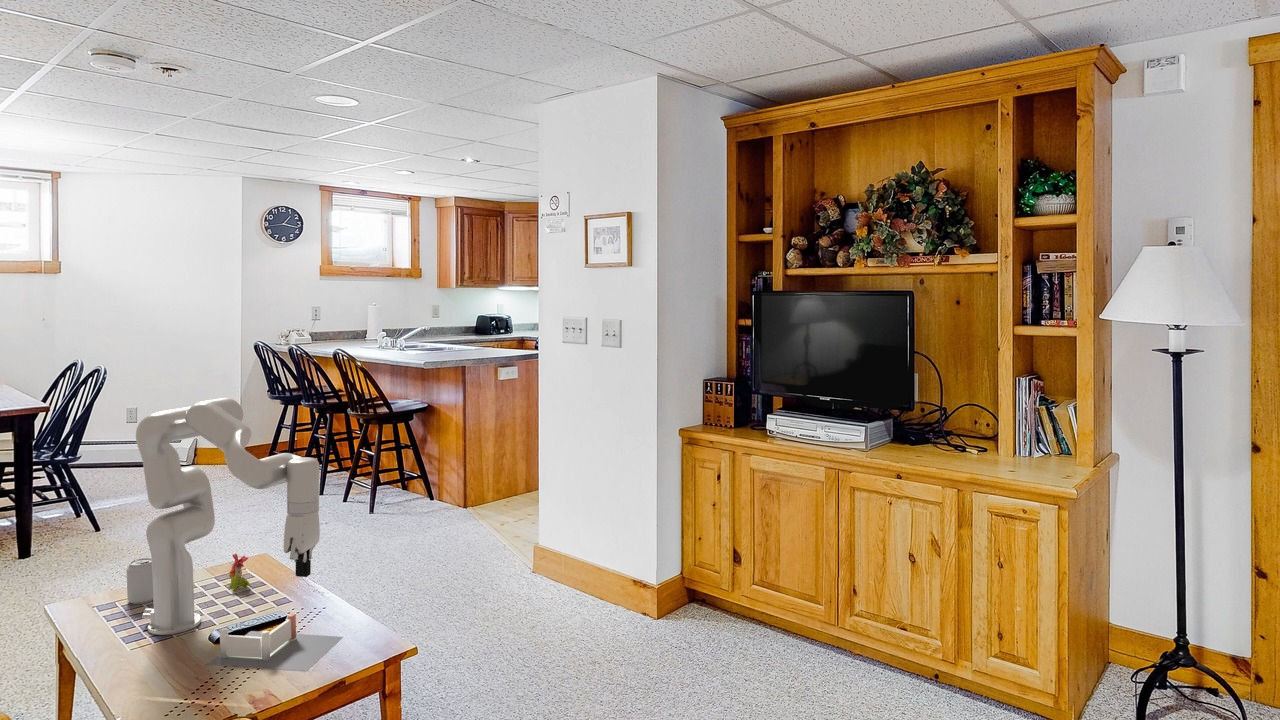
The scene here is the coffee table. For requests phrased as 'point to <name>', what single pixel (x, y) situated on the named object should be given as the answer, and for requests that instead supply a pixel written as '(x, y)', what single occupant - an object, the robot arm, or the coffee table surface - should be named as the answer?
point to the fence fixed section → (245, 645)
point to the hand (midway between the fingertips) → (303, 575)
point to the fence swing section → (283, 633)
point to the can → (140, 581)
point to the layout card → (285, 654)
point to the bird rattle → (237, 573)
